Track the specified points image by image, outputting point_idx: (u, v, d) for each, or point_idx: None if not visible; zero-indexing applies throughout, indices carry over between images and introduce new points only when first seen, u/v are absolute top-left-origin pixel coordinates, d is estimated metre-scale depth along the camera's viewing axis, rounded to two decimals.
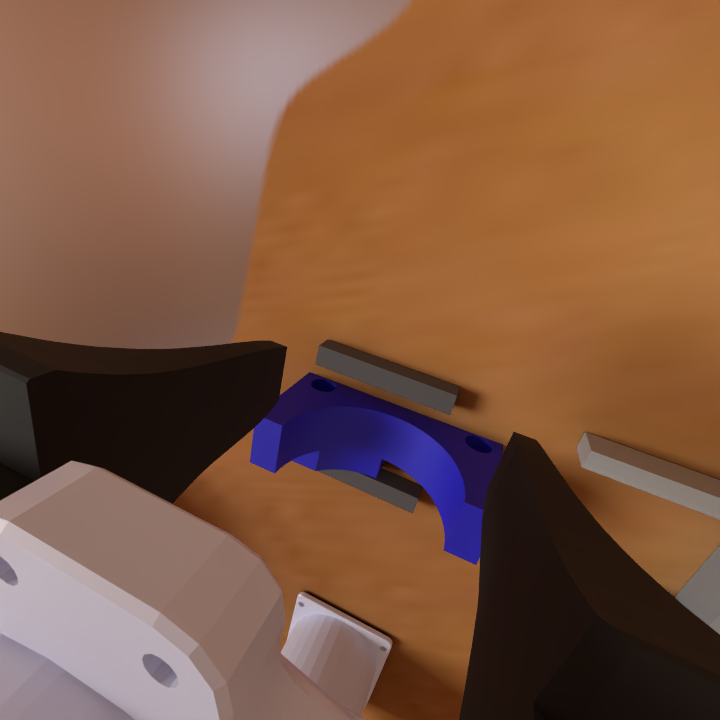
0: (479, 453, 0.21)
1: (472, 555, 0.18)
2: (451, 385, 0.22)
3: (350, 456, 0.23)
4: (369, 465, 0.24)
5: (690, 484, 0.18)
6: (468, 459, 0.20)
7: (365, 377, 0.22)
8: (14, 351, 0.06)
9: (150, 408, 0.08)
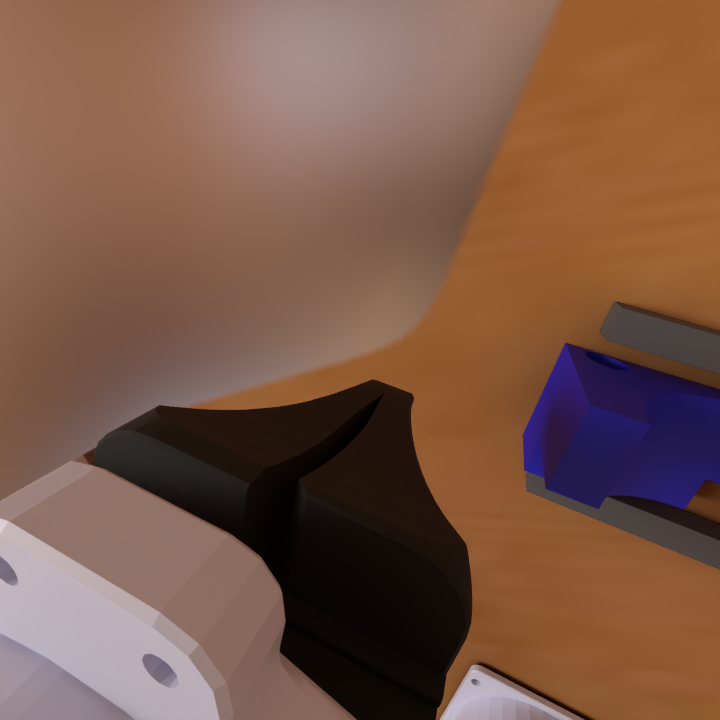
0: None
1: None
2: None
3: (649, 474, 0.15)
4: (677, 489, 0.15)
5: None
6: None
7: (706, 360, 0.13)
8: (211, 442, 0.05)
9: None
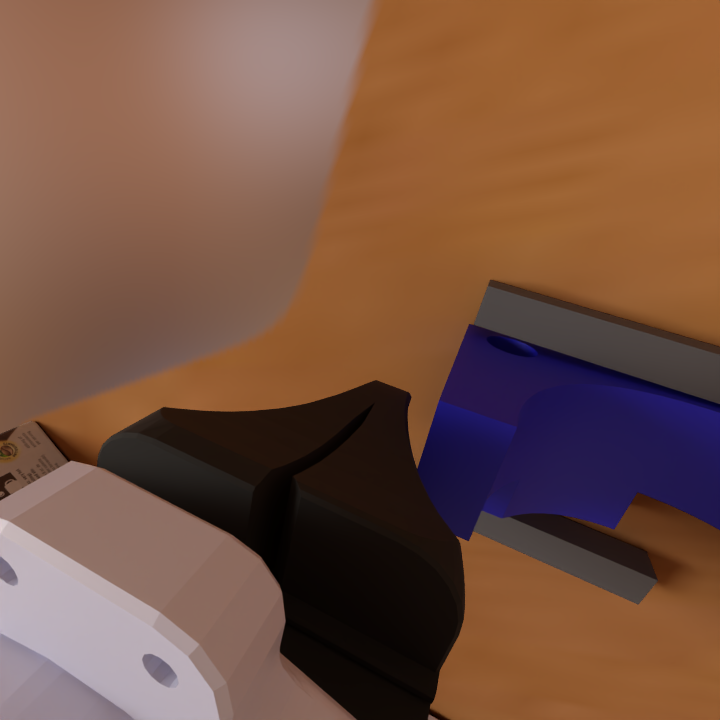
0: None
1: None
2: None
3: (568, 487, 0.12)
4: (604, 504, 0.12)
5: None
6: None
7: (585, 348, 0.11)
8: (216, 444, 0.05)
9: None
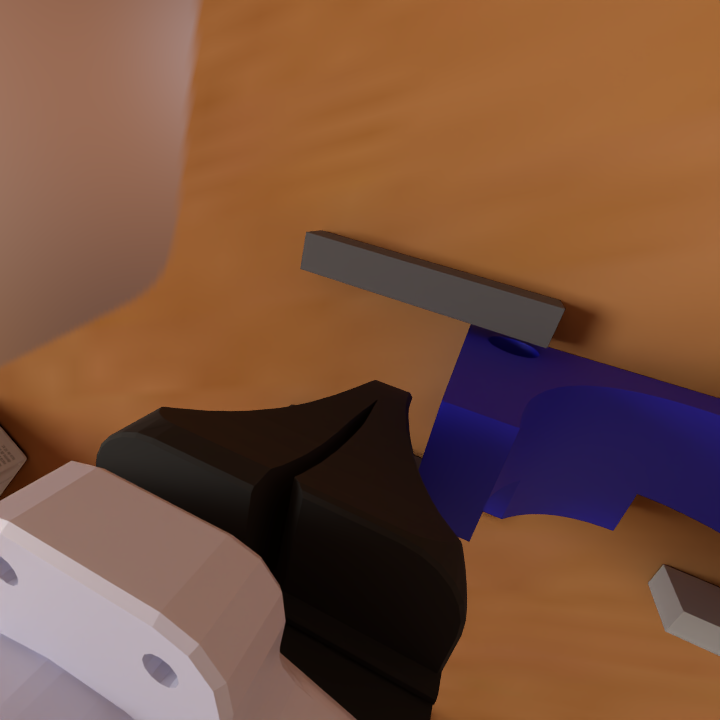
0: None
1: None
2: (545, 298, 0.12)
3: (568, 488, 0.12)
4: (604, 506, 0.12)
5: None
6: None
7: (388, 286, 0.12)
8: (215, 444, 0.05)
9: None
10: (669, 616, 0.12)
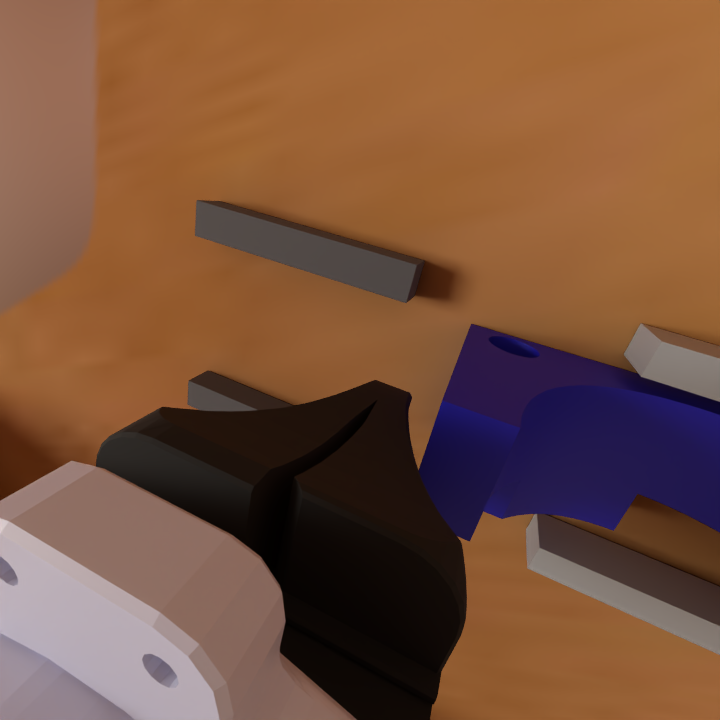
0: None
1: None
2: (411, 258, 0.13)
3: (568, 488, 0.12)
4: (604, 505, 0.12)
5: None
6: None
7: (270, 249, 0.13)
8: (215, 444, 0.05)
9: None
10: (531, 554, 0.13)
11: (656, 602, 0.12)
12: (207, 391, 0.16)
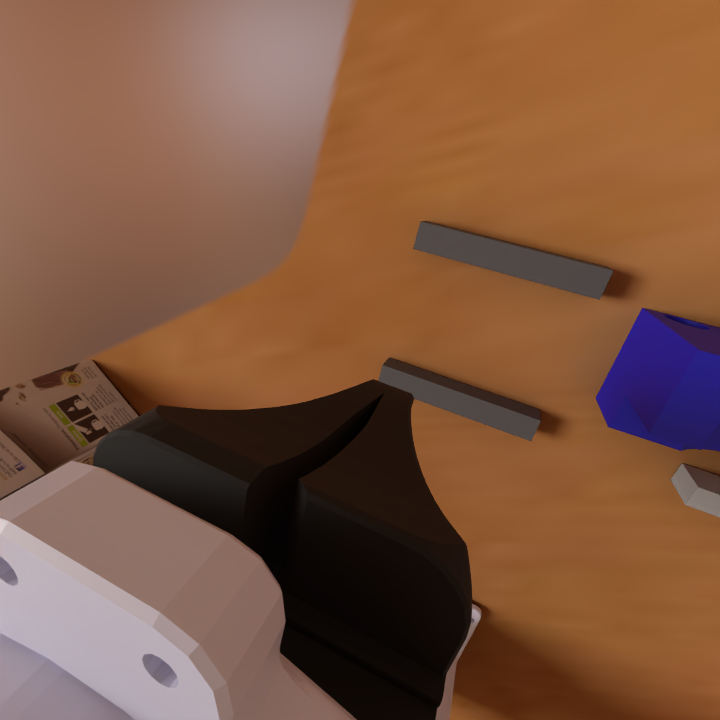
0: None
1: None
2: (596, 265, 0.17)
3: None
4: None
5: None
6: None
7: (482, 259, 0.17)
8: (211, 442, 0.05)
9: None
10: (687, 494, 0.17)
11: None
12: (399, 373, 0.20)
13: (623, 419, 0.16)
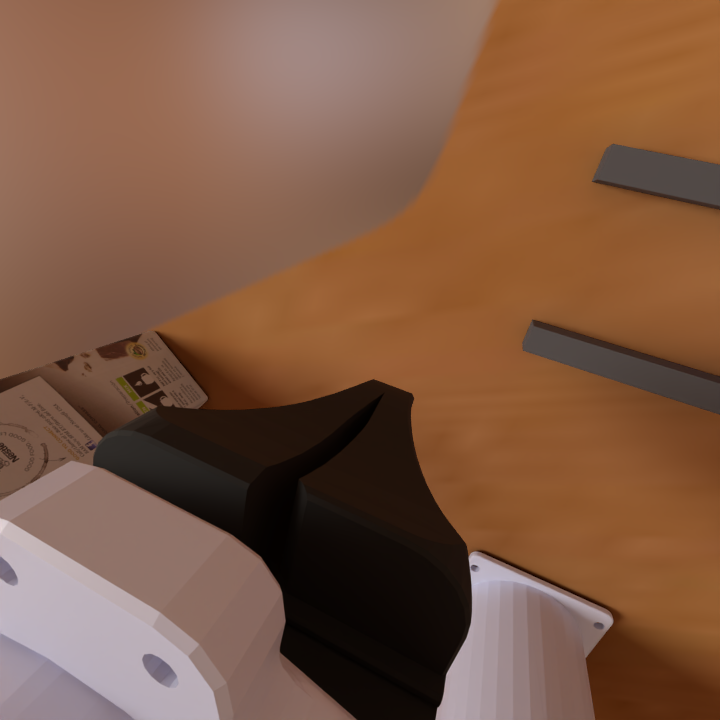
0: None
1: None
2: None
3: None
4: None
5: None
6: None
7: (692, 189, 0.14)
8: (211, 442, 0.05)
9: None
10: None
11: None
12: (555, 335, 0.17)
13: None
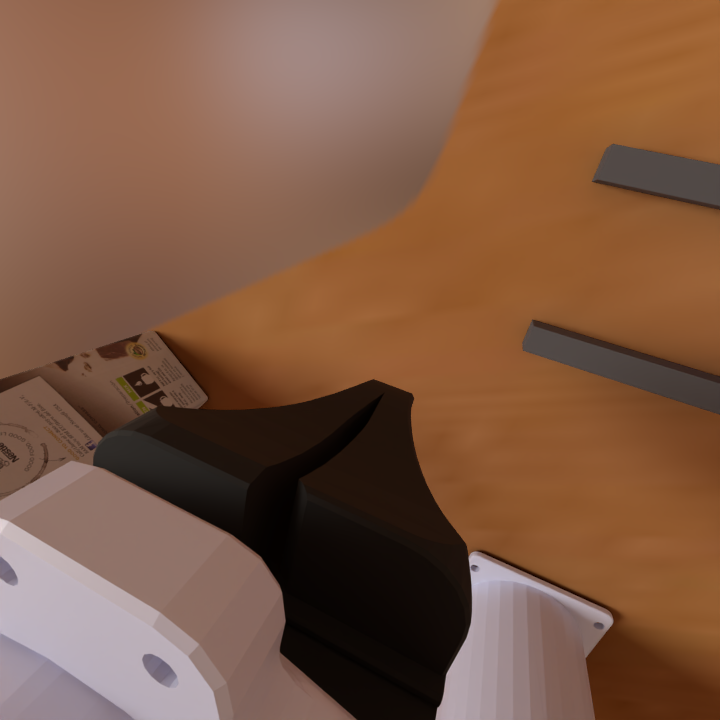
0: None
1: None
2: None
3: None
4: None
5: None
6: None
7: (692, 189, 0.14)
8: (211, 442, 0.05)
9: None
10: None
11: None
12: (555, 335, 0.17)
13: None
